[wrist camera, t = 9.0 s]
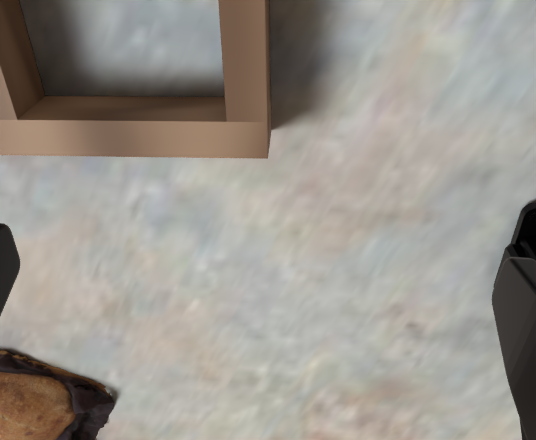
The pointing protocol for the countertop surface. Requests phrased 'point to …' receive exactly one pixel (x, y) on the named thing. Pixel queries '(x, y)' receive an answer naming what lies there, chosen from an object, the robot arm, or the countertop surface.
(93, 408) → the bread roll
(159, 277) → the countertop surface
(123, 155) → the pin holder
